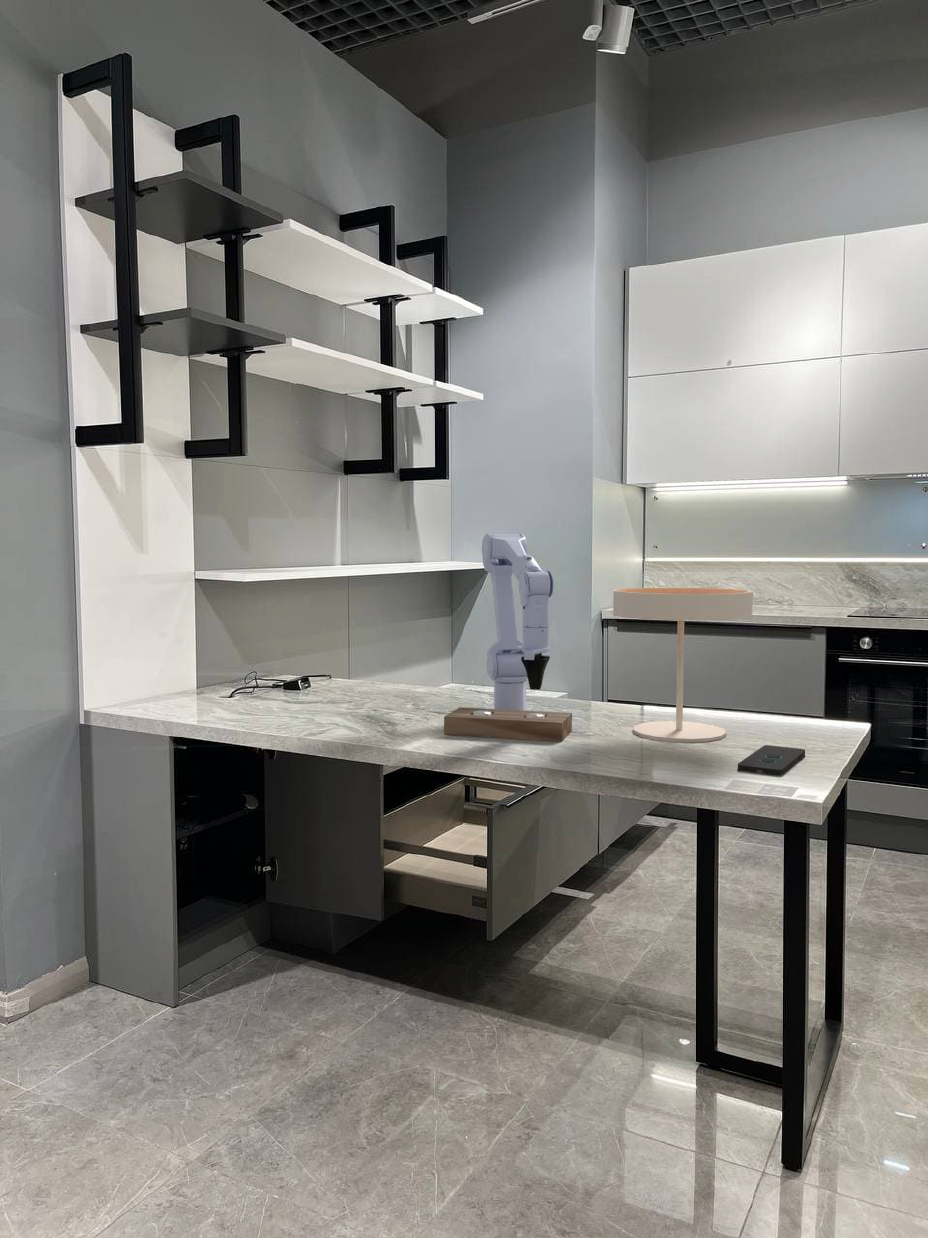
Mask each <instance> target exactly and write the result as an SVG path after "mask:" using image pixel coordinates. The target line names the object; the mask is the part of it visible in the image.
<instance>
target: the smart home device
mask: <svg viewBox="0 0 928 1238" xmlns="http://www.w3.org/2000/svg"><path fill="white" fill-rule="evenodd" d="M804 757H806V749H805V748H797V747H788V746H779V745H770V744H769V745H768V744H765V745H763V746H761V747H760V748H758V749H757V750H755V751H754V752H753V753H751V754H750V755H748V756H747V757H746V758H744V759H743V760H741V761H740V762H738V763H737V771H739V772H746V773H752V774H762V775H770V776H777V777H778V776H779V777H780V776H781V777H782V776H783V775H784V774H786V773H787V772H788V771H790V769H792V768H793V767H794V766H795V765H796V764H797V763H798V762H800V761H801V760H802V759H804Z"/></svg>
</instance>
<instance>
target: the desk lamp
mask: <svg viewBox="0 0 928 1238" xmlns="http://www.w3.org/2000/svg"><path fill="white" fill-rule="evenodd" d="M753 593H754V592H753V591H752V590H747V589H737V588H736V589H734V588H716V587H713V588H711V587H633V588H632V587H631V588H630V587H629V588H628V587H627V588H617V589H616V588H615V589H613V599H612V600H613V602H612V603H613V609H612V610H613V612H612V614H613V616H615V617H620V618H626V619H637V620H638V619H639V620H656V621H657V620H658V621H677V638H676V639H677V640H676V641H677V642H676V644H677V645H676V696H675V697H676V700H675V701H676V705H675V708H676V709H675V721H674V720H673V721H672V720H664V721H663V720H662V721H649V722H642V723H639V724H636V725H634V726H633V727H632V729H633V730H632V731H633V734H634V735H637V736H638V737H641V738H645V739H649V740H654V741H661V742H662V741H663V742H670V743H671V742H672V743H703V742H704V743H705V742H707V743H708V742H713V741H714V742H715V741H719V740H723V739H724V738H725V737H727V731H726V729H724V728H722V727H720V726H717V725H712V724H708V723H702V722H694V721H693V722H692V721H683V717H684V716H683V715H684V714H683V712H684V709H683V708H684V707H683V706H684V657H685V655H684V654H685V653H684V651H685V649H684V648H685V621H695V622H697V621H730V620H731V621H732V620H734V621H735V620H742V619H743V620H744V619H749V618H752V617H753V603H754V601H753V599H754V598H753V597H754V594H753Z"/></svg>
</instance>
